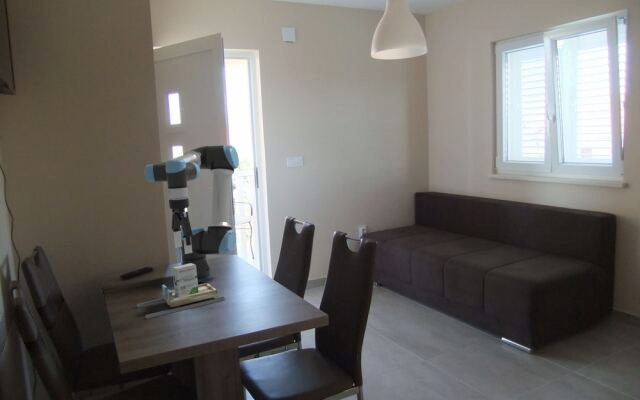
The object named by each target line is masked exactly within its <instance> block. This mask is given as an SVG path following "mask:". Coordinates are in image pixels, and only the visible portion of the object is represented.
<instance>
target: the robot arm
mask: <svg viewBox="0 0 640 400" xmlns="http://www.w3.org/2000/svg"><path fill="white" fill-rule="evenodd" d="M239 162H240V160H239V154H238V152H237V149H236V148H235V147H234V145H231V144H230V145H228V144H221V145H205V146H199V147H197V148H194V149H193V148H192V149H191V150H187V151H186V152H184V153H183V155H180V156H177V157H174V158H171V159H168V160H165V161H163V162H159V163H152V164H147V165H146V166H145V167H144V170H143V173H144V178H145V180H146V181H147V182H150V183H159V182H161V183H162V182H164V183H165V182H167V191H166V194H168V199H169V200H168V203H169V207H168V208H169V209H171V213H172V215H171V230H172V232H173V239H174V248H175V249H177V248H180V254H181V264H180V266H181V265H185V264H189V263H192V264H195V265H196V271H197V280H198V279H202V278H203V279H204V278H206V277H208V276H211V274H212V270H211V266H210V264H209V262H208V259H207V255H211V256H212V255H215V256H216V255H219V256H222V255H230V254H231V253H232V252H233V251H234V249H235V247H236V243H237V242H236V241H237V233H236V231H235V230H233V227H232V225H231V224H230V211H231V210H230V209H231V184H232V182H231V180H232V176H233V174H234V173H235V169H237V168H239V166H240V165H239ZM201 170H210V171H209V172H210V173H211V174H212V177H213V178H212V193H211V196H212V197H211V216H210V219H211V220H210V224H208V225H207V230H205V227H203V226H199V227H197V226H196V227H191V222H190V218H189V212H188V211H186V209H188V208H189V207H190V202H189V189H188V182H189V181H195V180H196V179H197V178H199V177H200V174H201Z"/></svg>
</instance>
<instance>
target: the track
mask: <svg viewBox="0 0 640 400" xmlns="http://www.w3.org/2000/svg"><path fill="white" fill-rule="evenodd" d="M221 301H225V296H220V297H215V298H214V299H211V300H210V299H206V300H202V301H198V302H194V303H189V304H185V305H181V306H178V308H173V307H172V308H170V309H165V310H161V311H157V312H154V313H149V314H145V319H152V318H155V317H160V316H163V315H168V314H169V315H170V314H173V313H176V312H182V311H185V310H189V309H193V308H198V307H202V306H206V305H211V304H215V303H219V302H221ZM164 302H165V301H164V299H163V297H162V298H159V299H154V300H150V301H145V302H140V303H136V304H137V306H136V307H137V308H142V307H146V306H147V307H148V306H150V305H155V304H159V303H164ZM165 303H166V302H165Z"/></svg>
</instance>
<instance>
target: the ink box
mask: <svg viewBox="0 0 640 400" xmlns="http://www.w3.org/2000/svg"><path fill="white" fill-rule="evenodd" d="M171 269H172V278H173V279H172V280H173V289H174V291H175V295H176V296H178V297H183V296H186V295H190V294H193V293H197V292H199V290H198V285H199V282H198V279H197V271H196V265H195V264H192V263H189V264H185V265H181V264H180V265H179V266H173V267H171Z"/></svg>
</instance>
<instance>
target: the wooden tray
mask: <svg viewBox="0 0 640 400" xmlns="http://www.w3.org/2000/svg"><path fill="white" fill-rule="evenodd" d="M161 290H162V291H161V293H162V298H163V299H164V301H165V303H166V304H167V305H168V306H169V307H170V308H172V309H173V308H178V307H180V306H184V305H189V304H193V303H197V302H201V301H206V300H211V299H215V298H219V297H218V289H216V288H215V287H213V286H212V285H211V284H209V283H208V282H205V283H200V284H198V290H199V292H197V293H193V294H190V295H186V296H183V297H178V296H176V295H175V291H174V290H173V289H172V290H171V289H170V288H169V287H168V286H166V284H162V285H161Z"/></svg>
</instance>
